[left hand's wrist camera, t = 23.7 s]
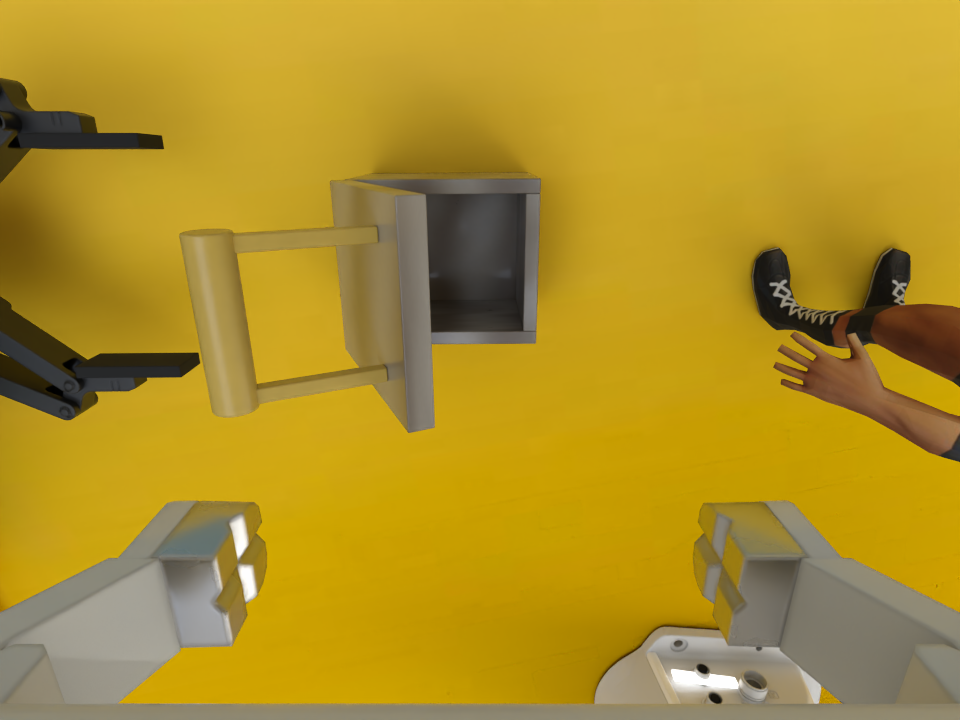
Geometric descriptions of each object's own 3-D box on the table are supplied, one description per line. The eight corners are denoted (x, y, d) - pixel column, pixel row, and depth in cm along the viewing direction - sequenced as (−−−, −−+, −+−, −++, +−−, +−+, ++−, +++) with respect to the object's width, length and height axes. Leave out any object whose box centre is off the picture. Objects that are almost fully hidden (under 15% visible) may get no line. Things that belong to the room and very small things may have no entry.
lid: (426, 194, 22) (168, 204, 18) (435, 428, 25) (220, 473, 22) (351, 179, 32) (178, 184, 29) (365, 346, 36) (212, 369, 32)
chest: (528, 172, 41) (540, 178, 32) (525, 307, 44) (536, 343, 36) (371, 173, 41) (343, 179, 32) (380, 308, 44) (357, 344, 36)
